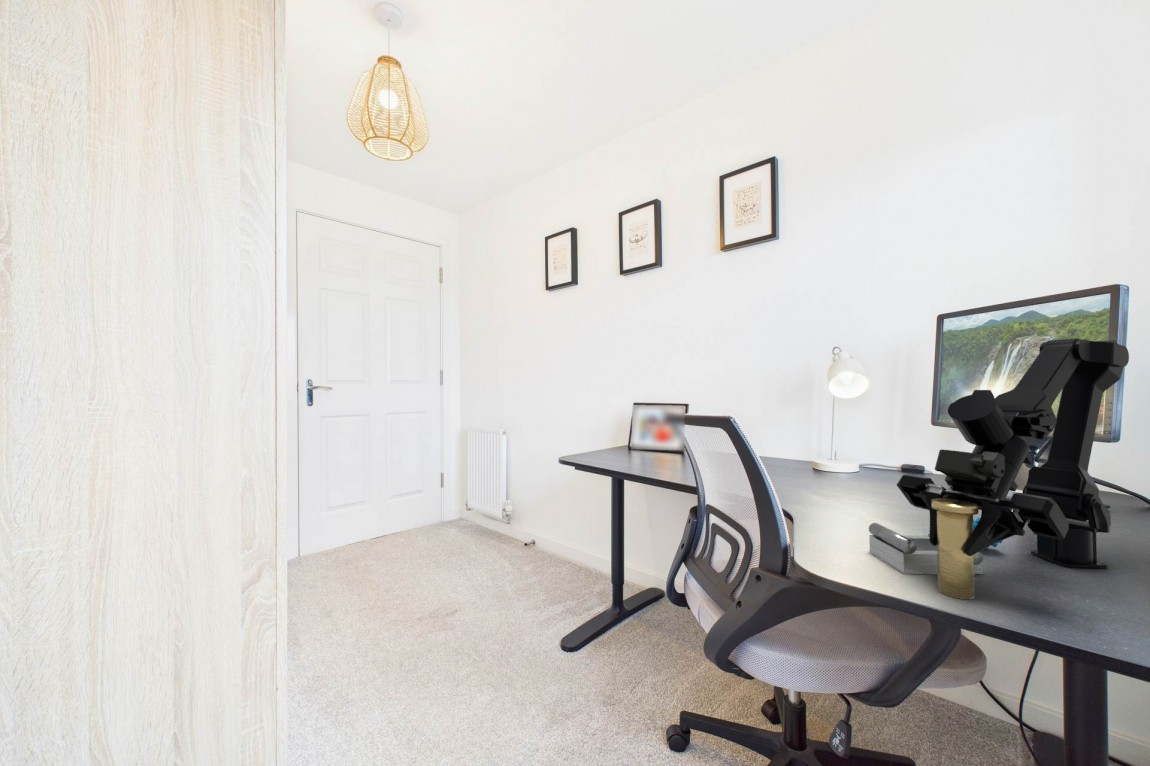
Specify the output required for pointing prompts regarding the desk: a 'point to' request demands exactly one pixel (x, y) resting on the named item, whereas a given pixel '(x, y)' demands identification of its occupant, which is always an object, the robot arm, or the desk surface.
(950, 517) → the pin
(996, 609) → the desk surface
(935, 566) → the metal roller frame
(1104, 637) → the desk surface
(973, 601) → the desk surface
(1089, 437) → the robot arm
